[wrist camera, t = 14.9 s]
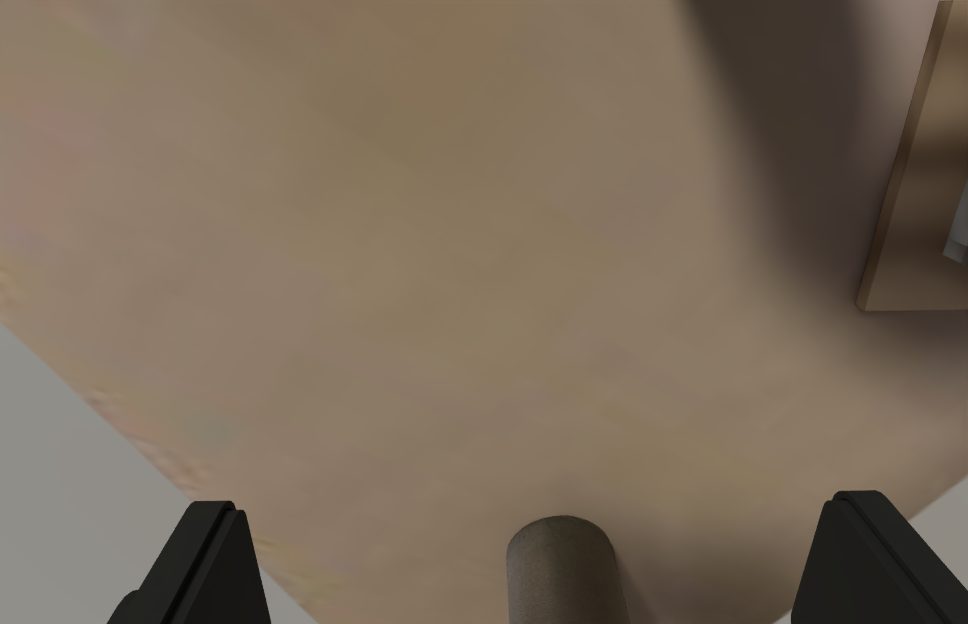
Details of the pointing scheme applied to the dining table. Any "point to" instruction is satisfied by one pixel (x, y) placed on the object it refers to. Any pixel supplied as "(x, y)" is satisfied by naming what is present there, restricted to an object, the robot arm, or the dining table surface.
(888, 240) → the collar stand
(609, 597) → the pillar candle
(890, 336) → the dining table surface
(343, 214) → the dining table surface
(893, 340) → the dining table surface
